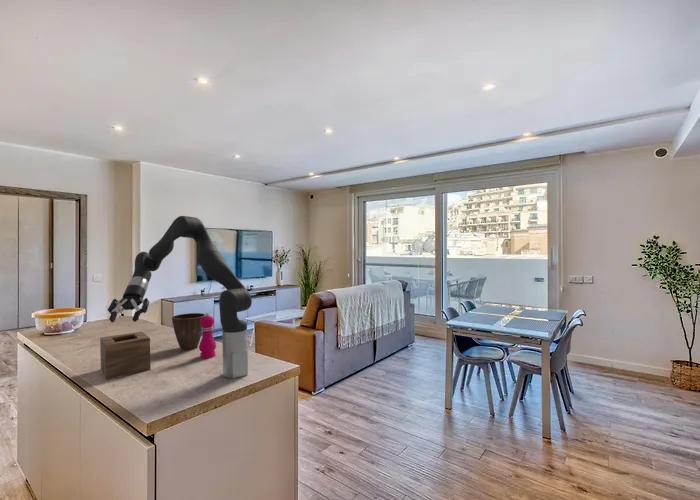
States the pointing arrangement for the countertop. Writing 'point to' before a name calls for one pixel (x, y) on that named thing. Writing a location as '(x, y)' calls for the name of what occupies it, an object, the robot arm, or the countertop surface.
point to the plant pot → (188, 330)
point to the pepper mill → (207, 337)
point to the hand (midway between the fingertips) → (122, 321)
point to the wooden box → (125, 354)
